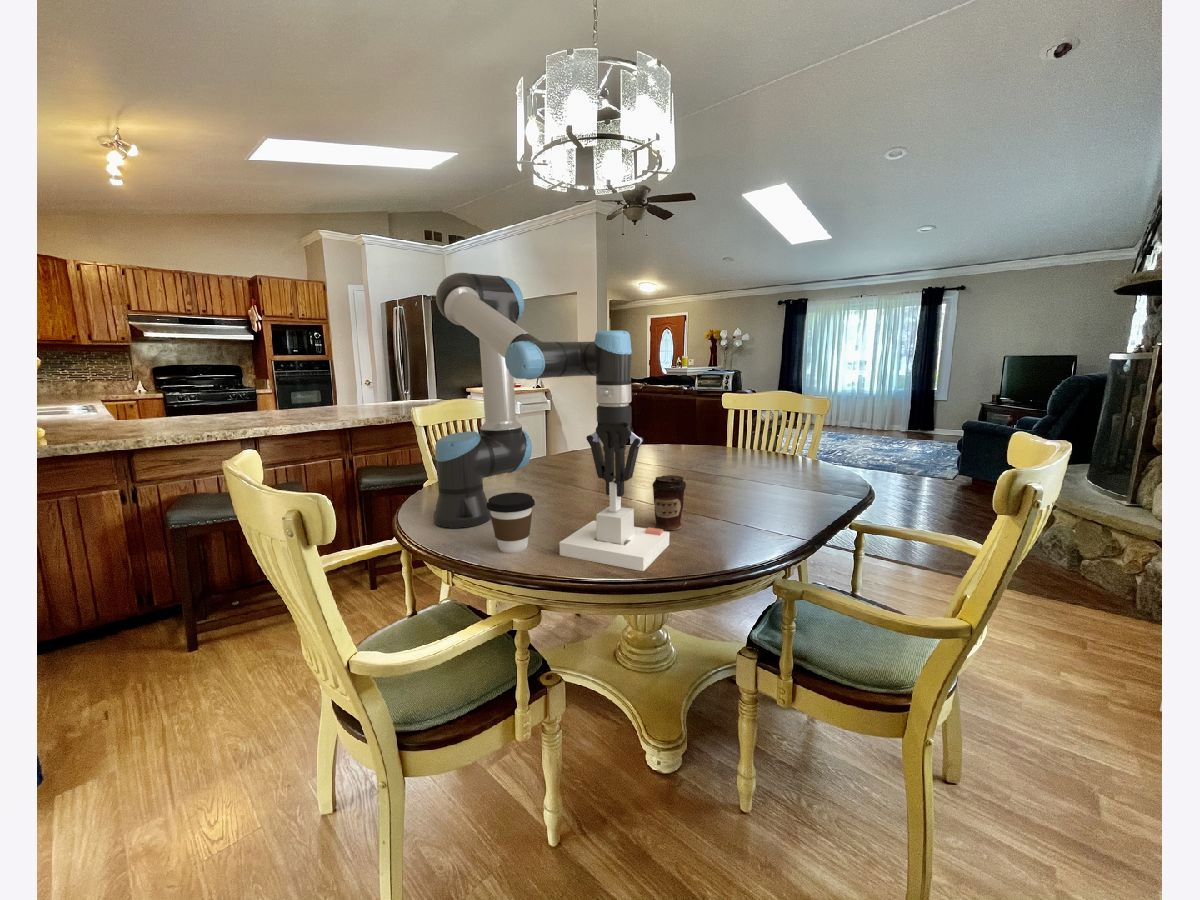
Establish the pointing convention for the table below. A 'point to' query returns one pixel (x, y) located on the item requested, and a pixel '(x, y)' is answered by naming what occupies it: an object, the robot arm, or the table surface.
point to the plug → (615, 525)
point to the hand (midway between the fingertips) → (615, 509)
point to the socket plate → (616, 547)
